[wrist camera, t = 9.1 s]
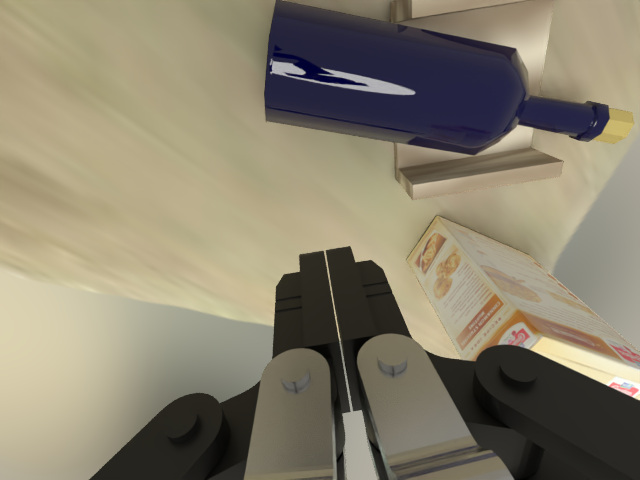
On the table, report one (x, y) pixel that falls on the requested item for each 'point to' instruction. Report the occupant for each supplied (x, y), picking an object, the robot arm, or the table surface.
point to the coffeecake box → (516, 306)
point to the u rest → (514, 149)
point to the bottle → (411, 85)
